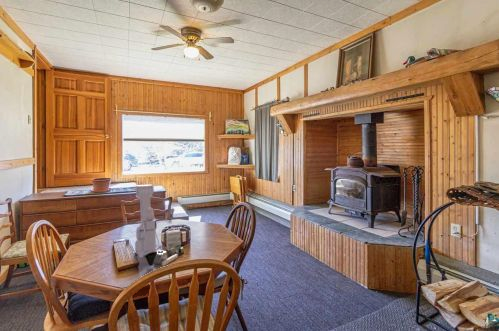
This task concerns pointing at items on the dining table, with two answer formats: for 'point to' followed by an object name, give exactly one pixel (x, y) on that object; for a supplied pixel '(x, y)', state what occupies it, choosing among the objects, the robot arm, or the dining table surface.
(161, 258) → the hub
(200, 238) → the dining table surface
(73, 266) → the dining table surface
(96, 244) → the dining table surface
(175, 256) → the guide rails
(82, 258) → the dining table surface
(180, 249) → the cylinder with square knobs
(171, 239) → the ink box
